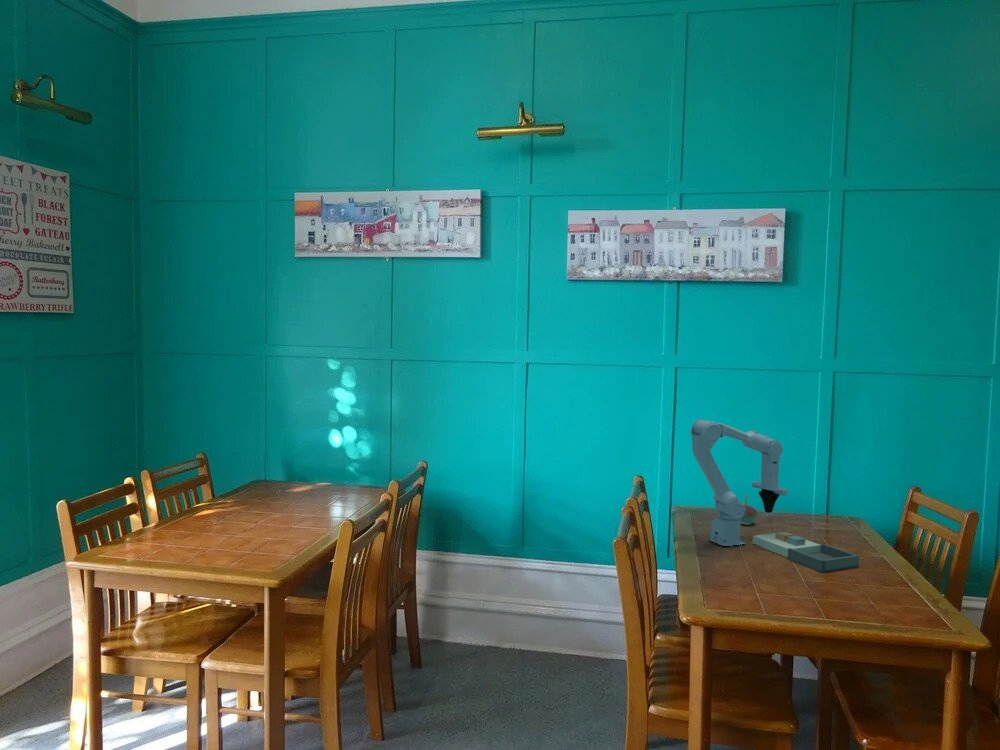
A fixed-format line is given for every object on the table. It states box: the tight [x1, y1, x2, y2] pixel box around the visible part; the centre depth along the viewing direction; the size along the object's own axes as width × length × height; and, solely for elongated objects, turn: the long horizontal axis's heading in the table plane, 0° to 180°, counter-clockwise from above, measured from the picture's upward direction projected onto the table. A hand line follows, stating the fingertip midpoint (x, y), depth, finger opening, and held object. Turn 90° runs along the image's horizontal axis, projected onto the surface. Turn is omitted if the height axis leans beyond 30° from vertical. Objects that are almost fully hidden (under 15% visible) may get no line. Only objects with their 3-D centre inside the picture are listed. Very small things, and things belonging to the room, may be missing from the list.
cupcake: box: [741, 494, 758, 523], centre depth 269 cm, size 9×8×12 cm
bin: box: [787, 543, 860, 573], centre depth 224 cm, size 16×14×4 cm
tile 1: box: [774, 531, 794, 542], centre depth 239 cm, size 4×4×2 cm
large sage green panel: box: [752, 532, 821, 559], centre depth 238 cm, size 14×16×3 cm
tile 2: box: [787, 535, 806, 546], centre depth 234 cm, size 4×4×2 cm
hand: (768, 512), depth 246 cm, fingers closed
